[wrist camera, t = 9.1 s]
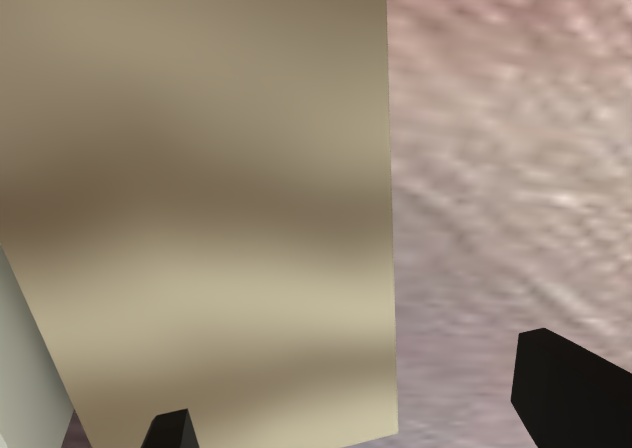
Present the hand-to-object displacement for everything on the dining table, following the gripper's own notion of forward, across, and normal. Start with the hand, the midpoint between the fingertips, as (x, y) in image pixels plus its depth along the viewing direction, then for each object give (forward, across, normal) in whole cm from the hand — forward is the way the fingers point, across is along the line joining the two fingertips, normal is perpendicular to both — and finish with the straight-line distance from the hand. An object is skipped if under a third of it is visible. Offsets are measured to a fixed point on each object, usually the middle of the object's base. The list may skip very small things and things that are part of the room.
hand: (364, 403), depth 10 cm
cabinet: (+10, +5, -3) cm, 12 cm away
